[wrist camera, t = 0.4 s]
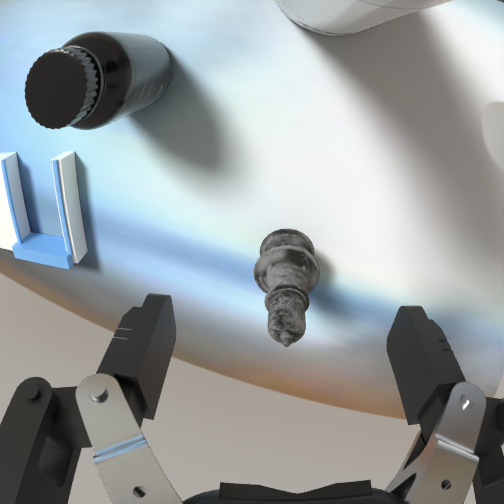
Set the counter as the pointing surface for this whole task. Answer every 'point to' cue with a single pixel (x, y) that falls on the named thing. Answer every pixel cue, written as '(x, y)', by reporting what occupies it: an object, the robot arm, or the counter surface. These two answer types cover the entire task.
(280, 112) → the counter surface
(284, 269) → the dark grey turned piece
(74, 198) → the white rail frame
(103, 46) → the supplement bottle
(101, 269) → the counter surface
